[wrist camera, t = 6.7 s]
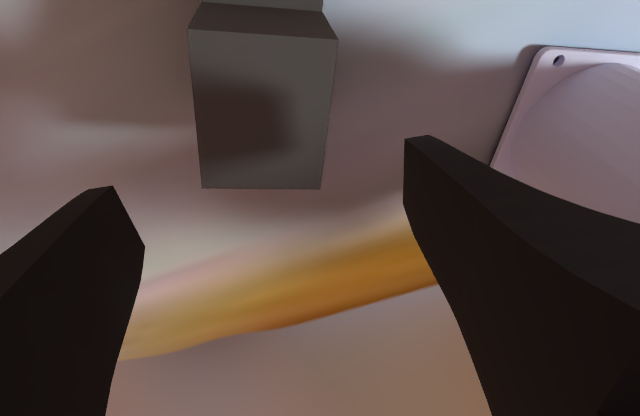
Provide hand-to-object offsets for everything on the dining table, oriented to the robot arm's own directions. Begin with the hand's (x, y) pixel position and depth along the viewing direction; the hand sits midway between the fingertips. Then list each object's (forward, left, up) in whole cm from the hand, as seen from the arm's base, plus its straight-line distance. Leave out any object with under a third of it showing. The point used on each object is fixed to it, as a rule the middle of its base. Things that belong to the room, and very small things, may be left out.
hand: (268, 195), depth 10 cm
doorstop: (0, -2, -9) cm, 9 cm away
